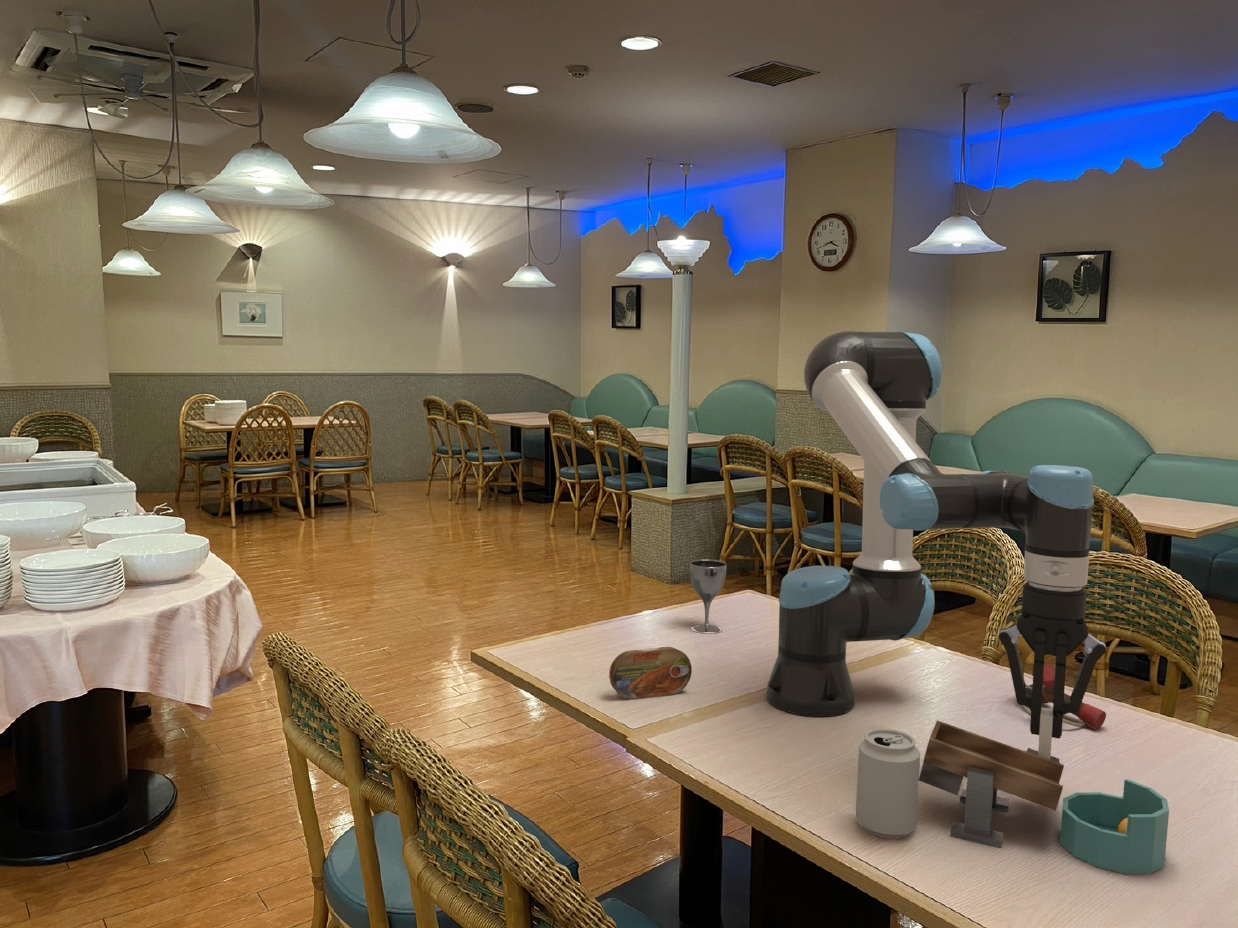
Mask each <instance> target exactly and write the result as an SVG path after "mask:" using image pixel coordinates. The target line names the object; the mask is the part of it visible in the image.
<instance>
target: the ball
mask: <svg viewBox="0 0 1238 928" xmlns="http://www.w3.org/2000/svg"><path fill="white" fill-rule="evenodd" d="M1127 822H1128V818H1125V819H1124V820H1122V821H1121V823H1120V824H1119V826H1118V833H1122V834H1127Z"/></svg>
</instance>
